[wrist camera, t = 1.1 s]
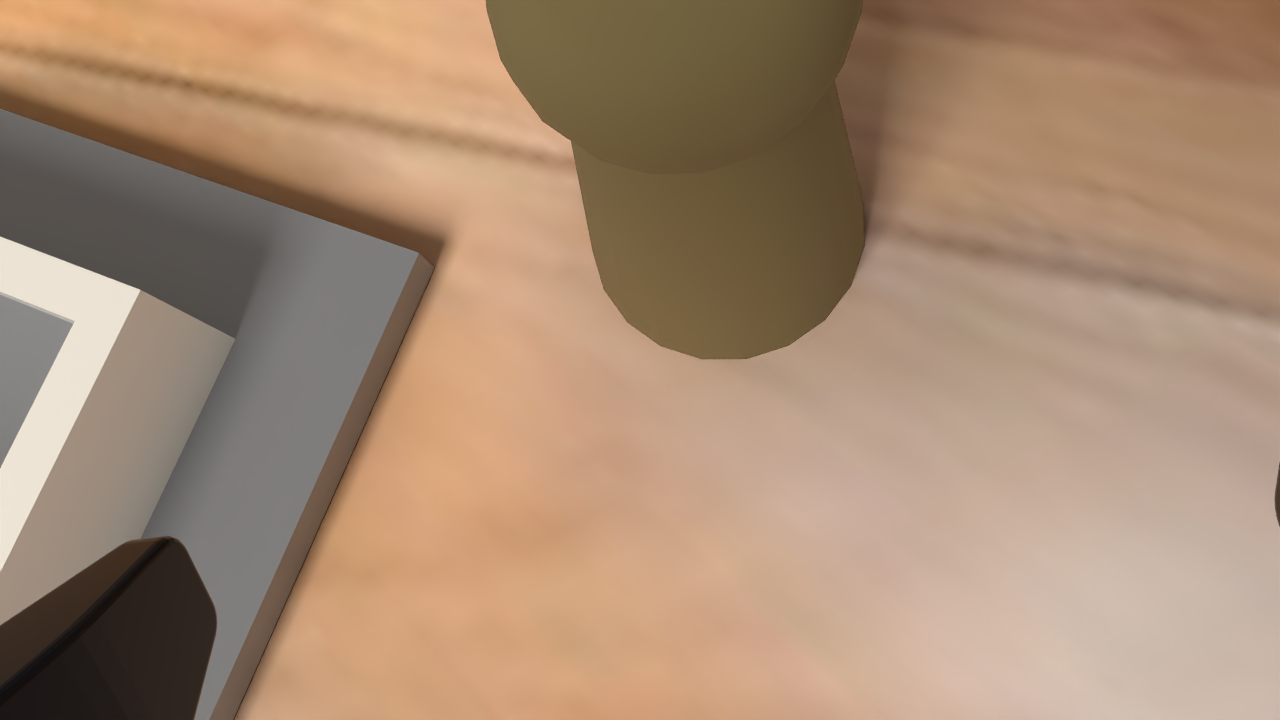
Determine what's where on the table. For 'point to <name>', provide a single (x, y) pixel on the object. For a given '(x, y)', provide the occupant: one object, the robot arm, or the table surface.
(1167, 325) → the table surface
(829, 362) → the table surface
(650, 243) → the pepper shaker
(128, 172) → the shaker caddy
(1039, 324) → the table surface
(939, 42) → the table surface
